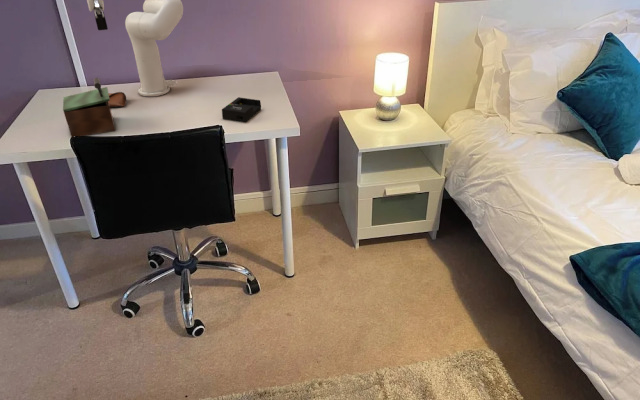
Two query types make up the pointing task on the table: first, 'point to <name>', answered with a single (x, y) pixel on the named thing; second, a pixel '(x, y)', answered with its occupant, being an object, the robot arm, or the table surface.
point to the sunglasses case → (117, 99)
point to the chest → (90, 119)
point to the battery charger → (241, 109)
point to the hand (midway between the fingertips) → (102, 26)
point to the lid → (86, 97)
